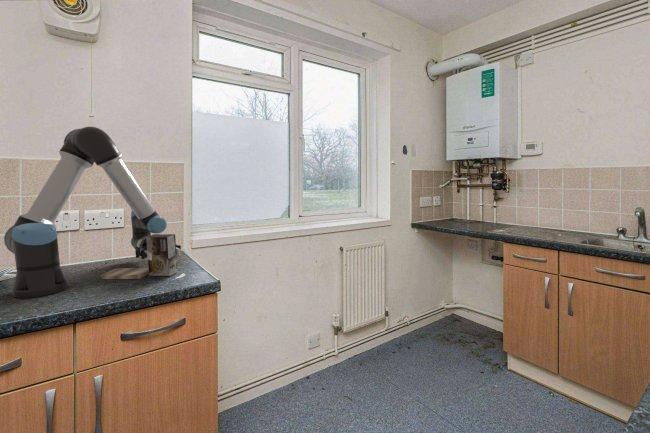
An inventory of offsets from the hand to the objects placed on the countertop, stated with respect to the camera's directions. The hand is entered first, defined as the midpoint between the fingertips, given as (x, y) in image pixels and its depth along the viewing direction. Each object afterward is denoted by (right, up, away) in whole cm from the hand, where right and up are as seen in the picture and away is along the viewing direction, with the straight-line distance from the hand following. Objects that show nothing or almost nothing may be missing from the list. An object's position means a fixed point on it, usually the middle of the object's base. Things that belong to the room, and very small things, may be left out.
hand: (165, 254), depth 134 cm
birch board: (-17, -9, +3) cm, 19 cm away
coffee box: (-3, -9, +4) cm, 10 cm away
